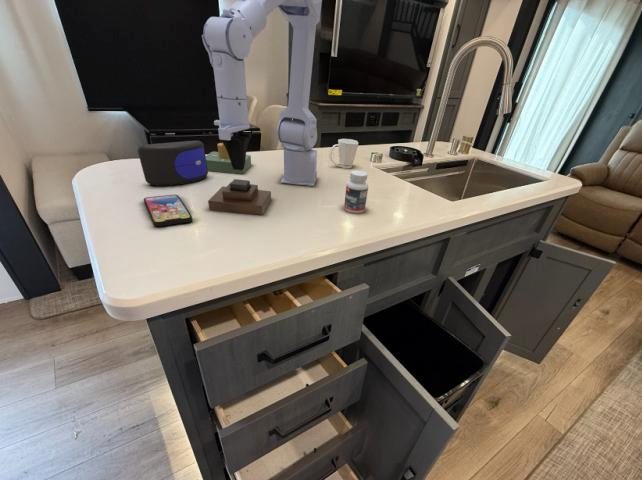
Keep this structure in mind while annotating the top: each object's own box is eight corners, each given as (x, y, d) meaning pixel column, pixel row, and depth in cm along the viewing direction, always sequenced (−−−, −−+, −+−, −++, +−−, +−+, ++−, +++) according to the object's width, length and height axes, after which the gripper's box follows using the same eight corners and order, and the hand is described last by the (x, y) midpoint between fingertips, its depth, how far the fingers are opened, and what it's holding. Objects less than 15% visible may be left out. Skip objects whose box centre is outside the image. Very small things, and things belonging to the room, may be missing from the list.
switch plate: (271, 199, 81) (270, 183, 78) (262, 215, 73) (261, 198, 70) (223, 195, 80) (221, 178, 78) (209, 210, 72) (206, 192, 70)
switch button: (250, 187, 76) (249, 180, 75) (246, 193, 73) (245, 185, 72) (235, 186, 76) (234, 178, 75) (230, 191, 73) (229, 183, 72)
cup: (359, 168, 110) (362, 143, 105) (334, 170, 106) (336, 144, 101) (349, 163, 115) (351, 138, 110) (324, 164, 111) (326, 138, 106)
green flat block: (251, 165, 103) (250, 154, 101) (242, 174, 95) (241, 163, 93) (213, 161, 103) (212, 150, 101) (202, 170, 95) (200, 158, 93)
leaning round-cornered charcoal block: (152, 190, 79) (141, 148, 73) (145, 184, 81) (134, 144, 76) (214, 180, 89) (209, 142, 83) (206, 175, 91) (201, 139, 85)
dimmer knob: (221, 154, 98) (219, 141, 96) (235, 156, 99) (234, 142, 96) (216, 158, 95) (215, 144, 93) (231, 159, 95) (230, 145, 93)
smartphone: (177, 194, 76) (193, 217, 66) (178, 198, 76) (193, 221, 67) (142, 197, 72) (153, 223, 63) (143, 201, 73) (154, 227, 63)
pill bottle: (339, 208, 80) (343, 171, 75) (353, 203, 83) (358, 168, 78) (355, 215, 77) (359, 177, 72) (369, 210, 80) (374, 174, 75)
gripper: (223, 92, 69) (230, 158, 77) (197, 99, 58) (209, 176, 66) (256, 95, 69) (259, 161, 77) (237, 103, 58) (243, 180, 66)
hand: (238, 169), depth 72 cm, fingers closed
